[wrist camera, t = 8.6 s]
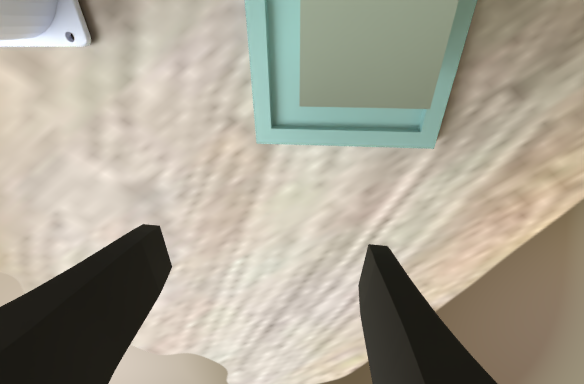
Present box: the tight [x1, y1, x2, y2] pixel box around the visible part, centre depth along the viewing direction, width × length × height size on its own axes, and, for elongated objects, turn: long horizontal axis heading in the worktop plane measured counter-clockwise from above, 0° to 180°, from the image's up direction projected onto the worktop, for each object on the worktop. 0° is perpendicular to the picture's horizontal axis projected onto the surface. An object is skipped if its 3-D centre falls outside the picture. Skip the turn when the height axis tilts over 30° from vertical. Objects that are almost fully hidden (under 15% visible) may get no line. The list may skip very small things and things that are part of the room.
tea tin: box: [299, 0, 459, 109], centre depth 11 cm, size 5×5×7 cm
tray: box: [245, 0, 477, 149], centre depth 14 cm, size 11×11×1 cm
